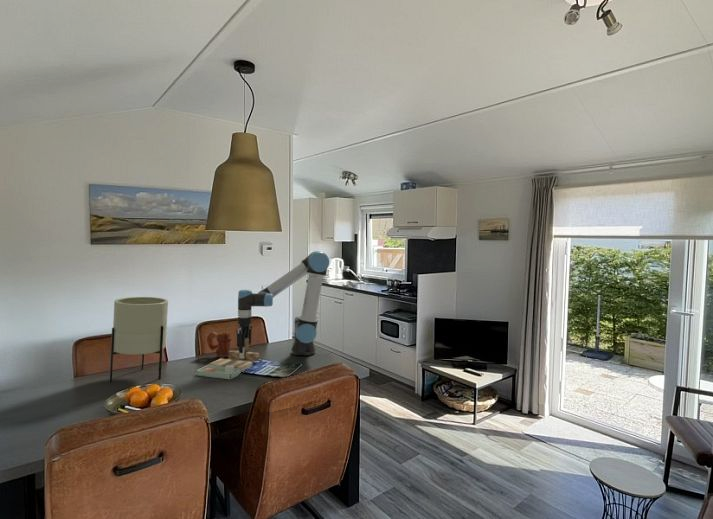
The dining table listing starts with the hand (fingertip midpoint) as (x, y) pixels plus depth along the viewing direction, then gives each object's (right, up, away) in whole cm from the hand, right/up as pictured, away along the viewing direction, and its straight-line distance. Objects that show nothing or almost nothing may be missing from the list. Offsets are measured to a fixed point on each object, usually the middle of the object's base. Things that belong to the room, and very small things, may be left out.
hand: (244, 357), depth 228 cm
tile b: (-12, -1, -22) cm, 25 cm away
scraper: (0, -1, 0) cm, 1 cm away
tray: (-6, -3, -23) cm, 24 cm away
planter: (-43, -3, -30) cm, 53 cm away
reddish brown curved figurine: (-17, -2, +9) cm, 20 cm away
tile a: (-1, -1, -22) cm, 22 cm away
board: (-3, -3, -13) cm, 14 cm away
